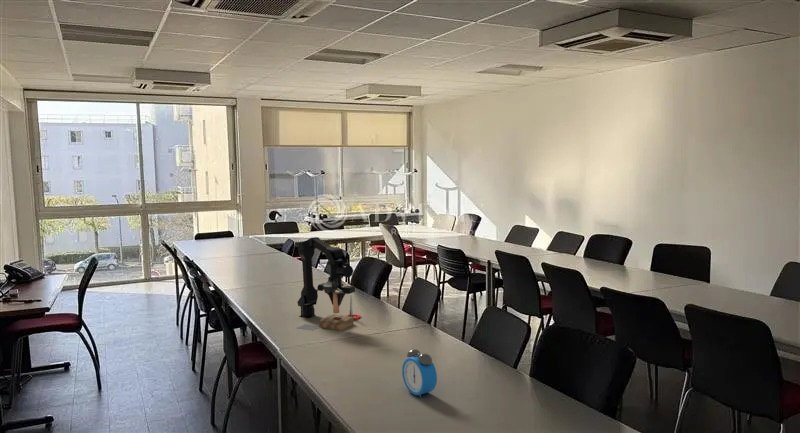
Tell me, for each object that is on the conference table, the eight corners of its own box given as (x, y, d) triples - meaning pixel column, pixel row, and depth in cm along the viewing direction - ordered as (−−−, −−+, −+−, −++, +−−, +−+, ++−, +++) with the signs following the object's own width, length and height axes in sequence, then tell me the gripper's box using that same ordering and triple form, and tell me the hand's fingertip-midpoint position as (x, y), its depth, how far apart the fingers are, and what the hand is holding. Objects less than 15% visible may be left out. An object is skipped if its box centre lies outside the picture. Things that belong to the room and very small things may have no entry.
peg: (332, 312, 284) (331, 292, 283) (335, 311, 286) (335, 291, 285) (337, 313, 282) (336, 293, 281) (340, 312, 285) (340, 292, 284)
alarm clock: (401, 389, 206) (401, 348, 204) (415, 385, 209) (415, 345, 208) (423, 401, 195) (423, 358, 194) (438, 397, 199) (437, 354, 197)
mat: (295, 328, 281) (295, 328, 281) (305, 324, 289) (305, 324, 289) (312, 331, 277) (312, 330, 277) (322, 327, 284) (322, 326, 284)
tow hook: (347, 316, 306) (342, 320, 297) (347, 292, 305) (342, 295, 296) (362, 316, 305) (358, 320, 296) (362, 292, 304) (358, 295, 295)
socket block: (319, 328, 282) (319, 320, 282) (333, 322, 293) (333, 314, 293) (340, 331, 277) (340, 323, 277) (353, 324, 288) (353, 316, 287)
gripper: (310, 275, 280) (311, 307, 281) (343, 279, 271) (343, 311, 273) (323, 271, 289) (323, 302, 291) (355, 274, 281) (355, 306, 283)
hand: (336, 305), depth 284 cm, fingers closed on peg, 3 cm apart
